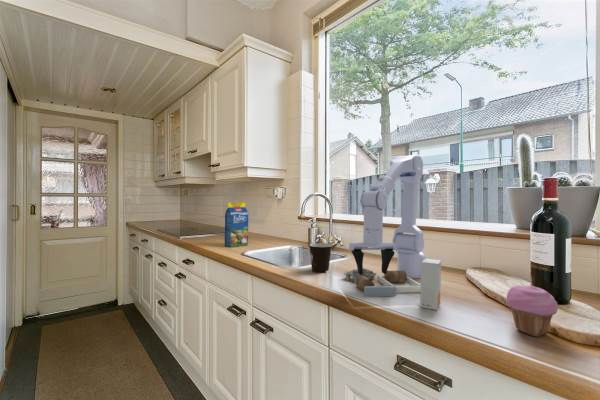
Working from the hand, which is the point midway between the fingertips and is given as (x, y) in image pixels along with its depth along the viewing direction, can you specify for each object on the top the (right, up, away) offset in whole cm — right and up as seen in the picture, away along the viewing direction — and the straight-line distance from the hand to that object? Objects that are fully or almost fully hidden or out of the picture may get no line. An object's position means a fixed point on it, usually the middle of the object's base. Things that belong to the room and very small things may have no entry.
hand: (372, 273), depth 93 cm
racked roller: (+9, -5, +7) cm, 13 cm away
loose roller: (0, -4, 0) cm, 4 cm away
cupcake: (+28, -6, -28) cm, 40 cm away
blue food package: (-59, -4, +82) cm, 101 cm away
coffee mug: (-14, -5, +26) cm, 30 cm away
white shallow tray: (+10, -5, +3) cm, 12 cm away
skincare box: (+13, -6, -13) cm, 19 cm away
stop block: (+1, -5, -6) cm, 8 cm away
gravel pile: (-2, -6, +11) cm, 13 cm away
